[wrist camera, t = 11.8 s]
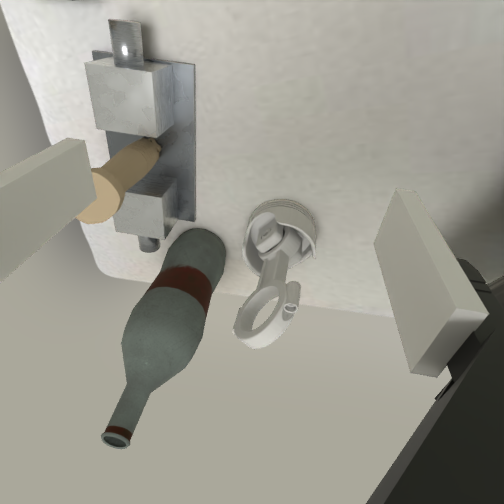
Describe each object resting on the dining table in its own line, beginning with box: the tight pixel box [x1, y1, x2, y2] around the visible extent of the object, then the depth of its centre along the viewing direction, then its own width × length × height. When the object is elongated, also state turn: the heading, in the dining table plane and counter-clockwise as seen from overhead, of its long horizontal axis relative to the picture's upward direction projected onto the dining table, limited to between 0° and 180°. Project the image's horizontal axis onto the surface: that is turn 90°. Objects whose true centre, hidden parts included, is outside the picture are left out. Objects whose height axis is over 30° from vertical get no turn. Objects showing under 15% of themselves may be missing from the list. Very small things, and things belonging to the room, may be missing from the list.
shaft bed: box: [84, 19, 196, 253], centre depth 41 cm, size 12×28×7 cm, turn 174°
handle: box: [75, 138, 161, 224], centre depth 37 cm, size 5×6×15 cm
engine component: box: [232, 199, 316, 349], centre depth 41 cm, size 11×20×10 cm
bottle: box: [101, 229, 225, 449], centre depth 41 cm, size 9×9×30 cm
